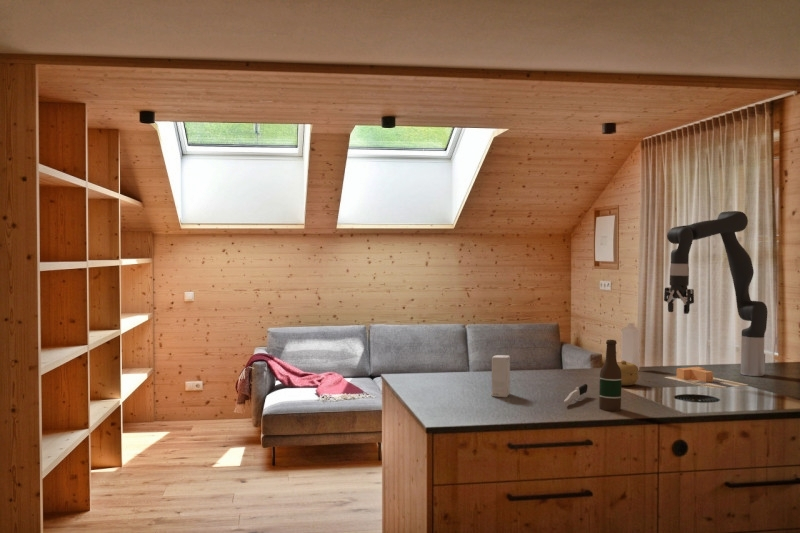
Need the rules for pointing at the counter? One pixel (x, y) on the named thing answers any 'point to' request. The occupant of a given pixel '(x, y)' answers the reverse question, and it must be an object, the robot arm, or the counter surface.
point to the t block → (695, 374)
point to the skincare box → (501, 375)
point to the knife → (575, 394)
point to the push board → (715, 384)
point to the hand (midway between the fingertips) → (678, 312)
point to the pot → (628, 373)
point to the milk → (630, 344)
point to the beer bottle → (610, 380)
